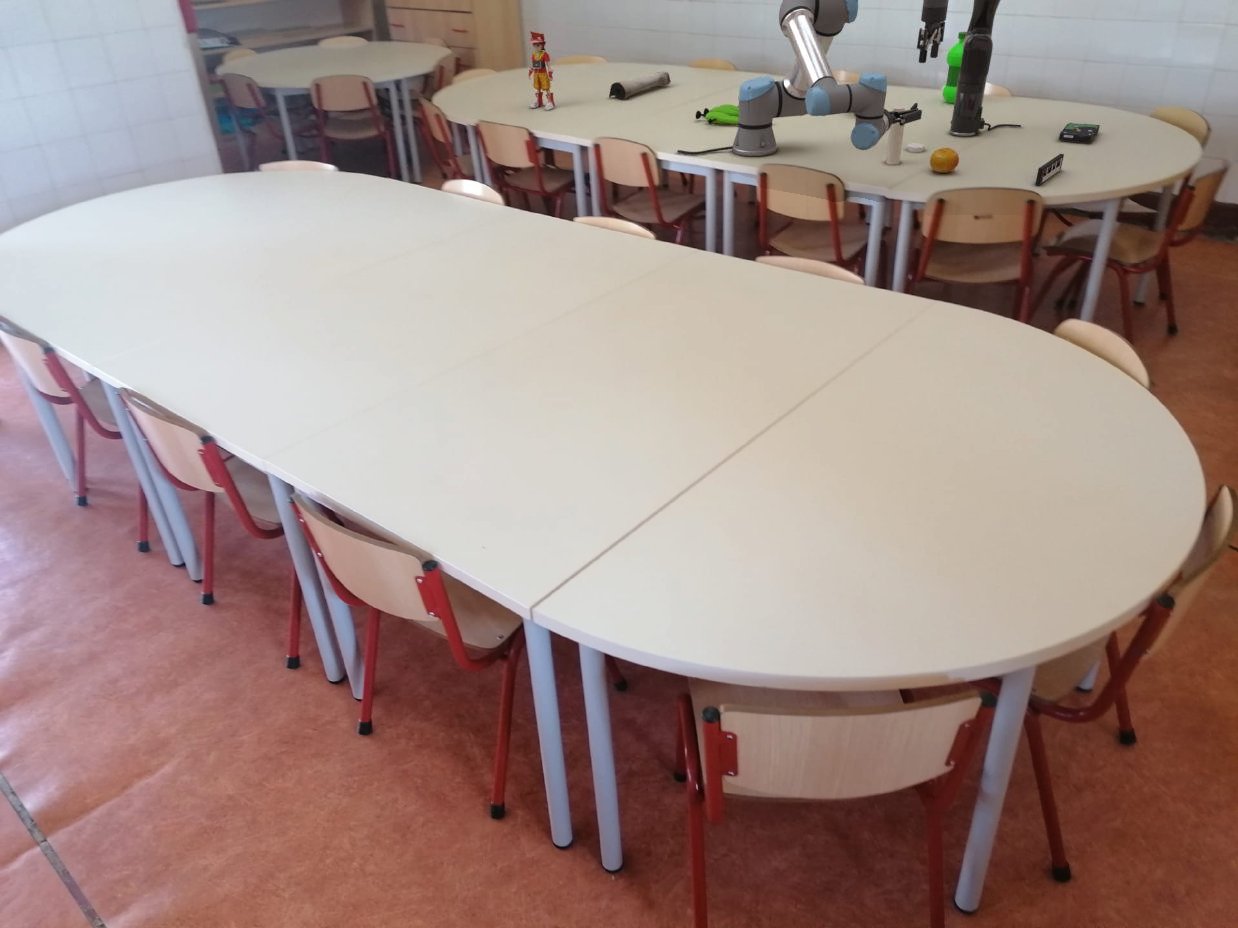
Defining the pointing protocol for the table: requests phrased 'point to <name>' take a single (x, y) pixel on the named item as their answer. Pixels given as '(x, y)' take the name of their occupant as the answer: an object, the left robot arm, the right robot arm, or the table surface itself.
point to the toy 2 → (721, 114)
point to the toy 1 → (541, 71)
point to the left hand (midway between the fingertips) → (893, 106)
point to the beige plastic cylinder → (895, 140)
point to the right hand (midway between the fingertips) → (927, 60)
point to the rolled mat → (638, 84)
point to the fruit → (944, 160)
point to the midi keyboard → (1049, 169)
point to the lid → (915, 147)
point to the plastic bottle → (954, 69)
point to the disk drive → (1079, 132)
